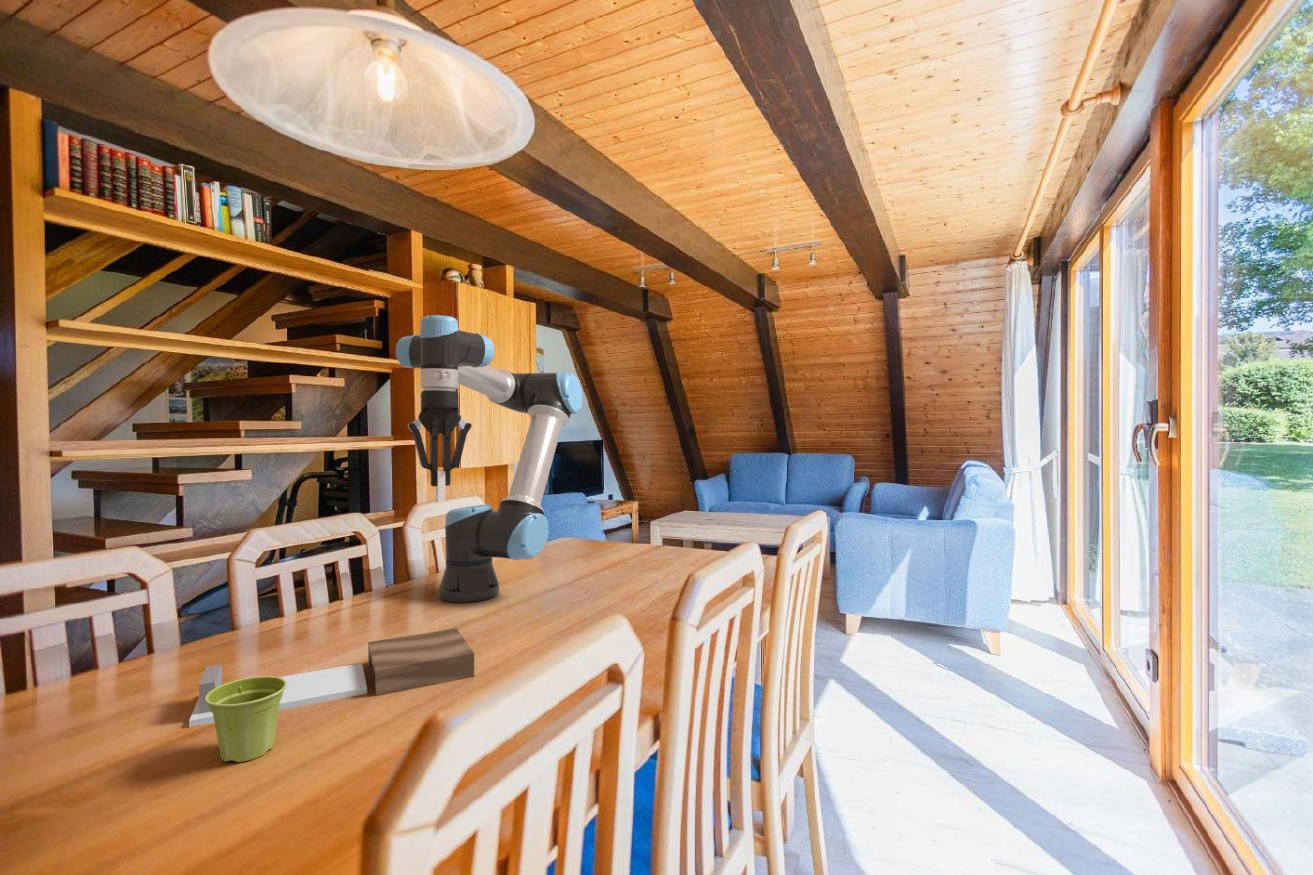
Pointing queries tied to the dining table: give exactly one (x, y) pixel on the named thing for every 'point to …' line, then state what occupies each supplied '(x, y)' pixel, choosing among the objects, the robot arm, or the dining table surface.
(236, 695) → the plant pot
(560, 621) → the dining table surface
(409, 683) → the walnut case
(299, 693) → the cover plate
